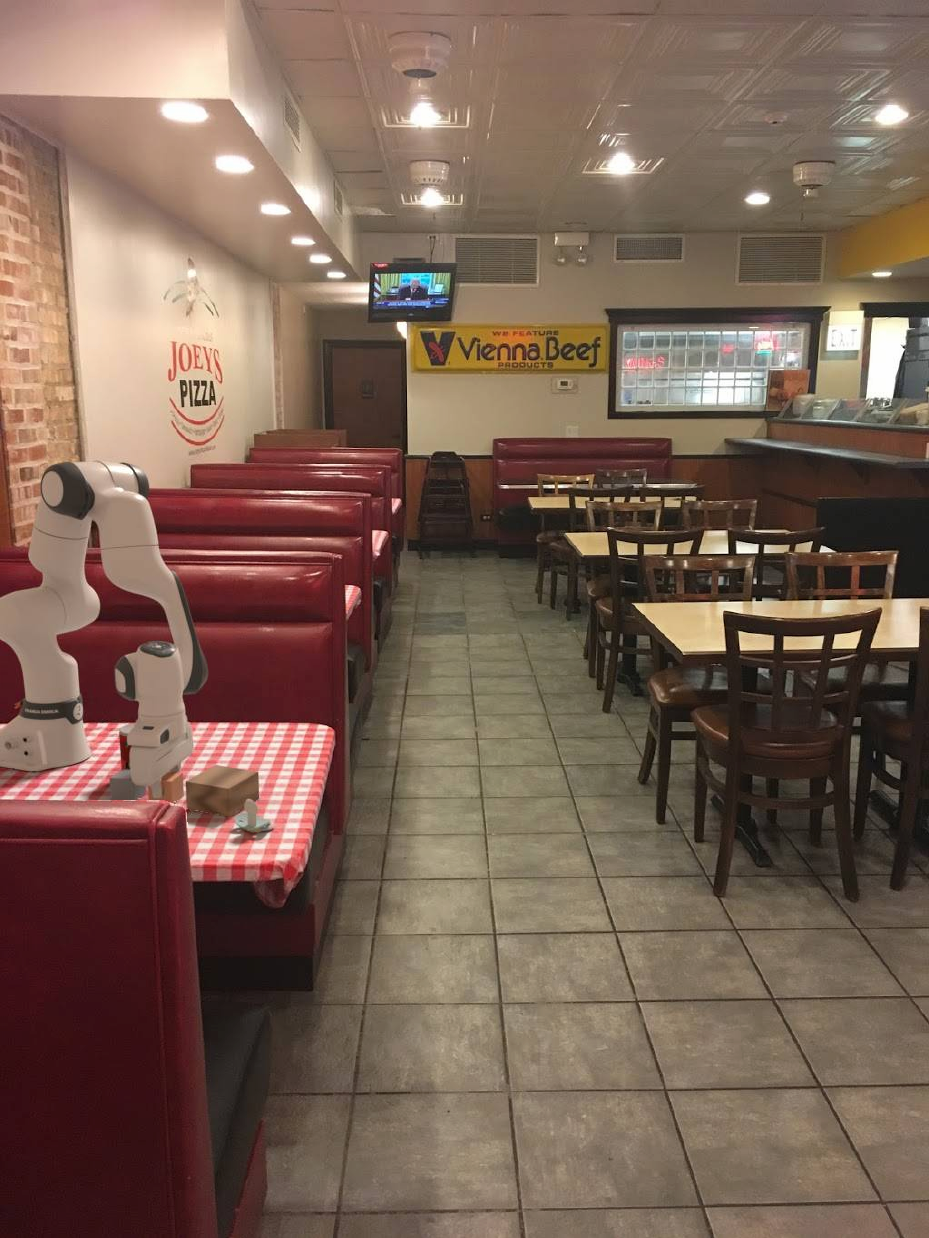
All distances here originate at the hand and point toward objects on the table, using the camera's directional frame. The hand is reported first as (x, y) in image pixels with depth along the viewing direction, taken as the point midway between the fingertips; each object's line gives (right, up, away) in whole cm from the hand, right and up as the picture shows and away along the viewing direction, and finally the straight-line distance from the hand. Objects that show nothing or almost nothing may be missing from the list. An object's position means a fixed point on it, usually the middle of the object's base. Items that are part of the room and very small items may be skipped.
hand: (166, 790), depth 189 cm
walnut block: (+12, -3, -1) cm, 12 cm away
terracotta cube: (0, -2, 0) cm, 2 cm away
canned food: (-9, 0, +13) cm, 16 cm away
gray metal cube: (-8, -2, +2) cm, 8 cm away
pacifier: (+21, -5, -12) cm, 25 cm away
